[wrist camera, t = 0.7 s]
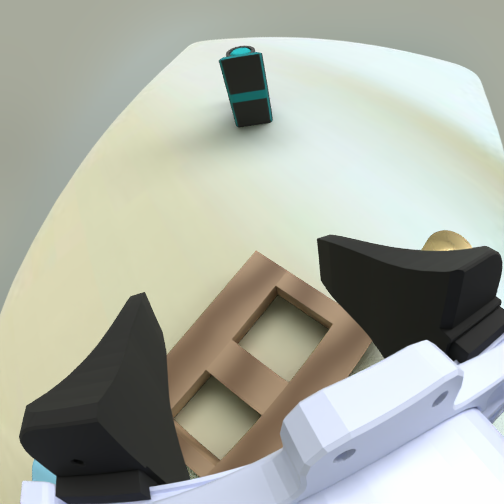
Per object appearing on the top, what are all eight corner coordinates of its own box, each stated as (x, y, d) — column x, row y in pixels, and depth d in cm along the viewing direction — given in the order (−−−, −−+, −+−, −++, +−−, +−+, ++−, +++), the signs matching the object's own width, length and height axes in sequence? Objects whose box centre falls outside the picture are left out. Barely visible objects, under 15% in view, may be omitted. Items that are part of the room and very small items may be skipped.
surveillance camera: (257, 29, 37) (262, 53, 33) (267, 89, 48) (273, 122, 43) (220, 35, 38) (217, 60, 33) (235, 93, 49) (236, 128, 44)
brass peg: (444, 290, 28) (483, 250, 20) (425, 330, 26) (465, 300, 18) (407, 266, 30) (436, 220, 22) (386, 304, 28) (414, 266, 20)
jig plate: (373, 336, 27) (378, 330, 25) (241, 497, 22) (235, 504, 19) (259, 261, 33) (256, 250, 31) (137, 404, 27) (125, 403, 25)
